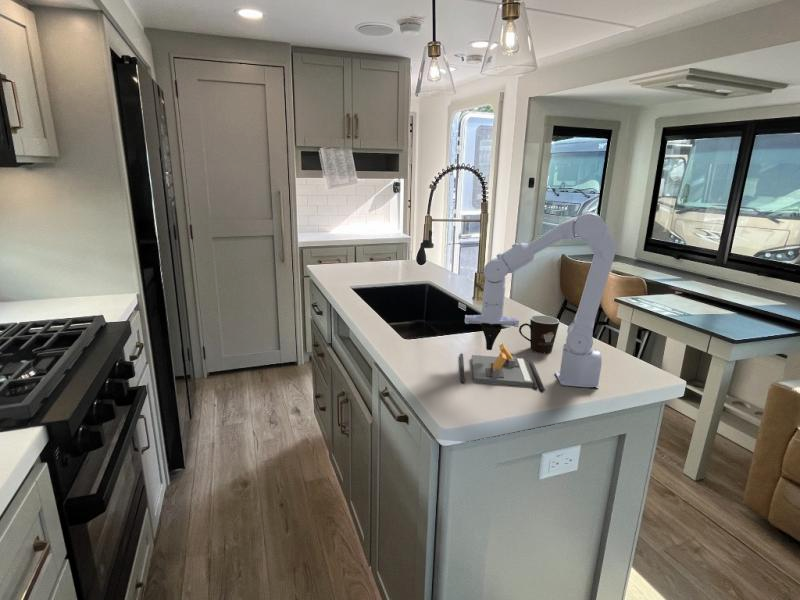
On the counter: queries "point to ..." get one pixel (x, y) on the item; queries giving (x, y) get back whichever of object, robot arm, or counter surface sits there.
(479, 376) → the breaker panel
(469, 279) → the counter surface
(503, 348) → the breaker lever
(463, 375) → the cord far
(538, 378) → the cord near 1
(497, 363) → the breaker lever
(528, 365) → the dark long thin strip
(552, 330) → the coffee mug
